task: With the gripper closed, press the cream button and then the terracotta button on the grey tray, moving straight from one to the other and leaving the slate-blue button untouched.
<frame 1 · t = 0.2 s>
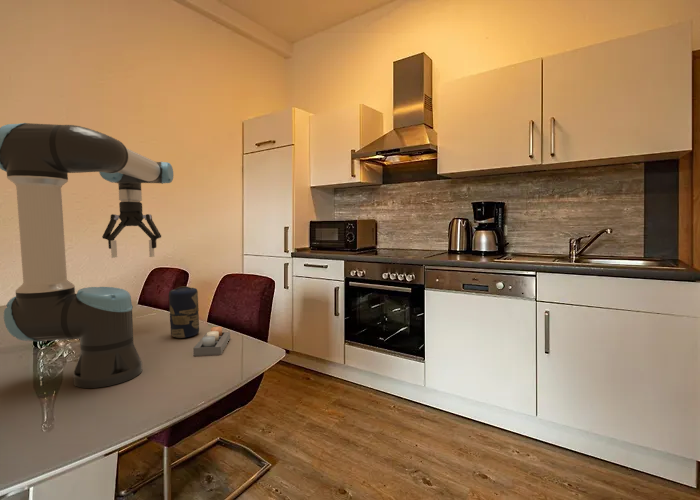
hand: (133, 257, 142), 28 cm above the table, fingers open, 13 cm apart
canister: (185, 336, 133), on the table
terracotta button: (216, 331, 125), point 4 cm above the table, slide at 0.0 cm
slate button: (208, 341, 114), point 4 cm above the table, slide at 0.0 cm
grey tray: (213, 347, 120), on the table
cream button: (212, 336, 120), point 4 cm above the table, slide at 0.0 cm
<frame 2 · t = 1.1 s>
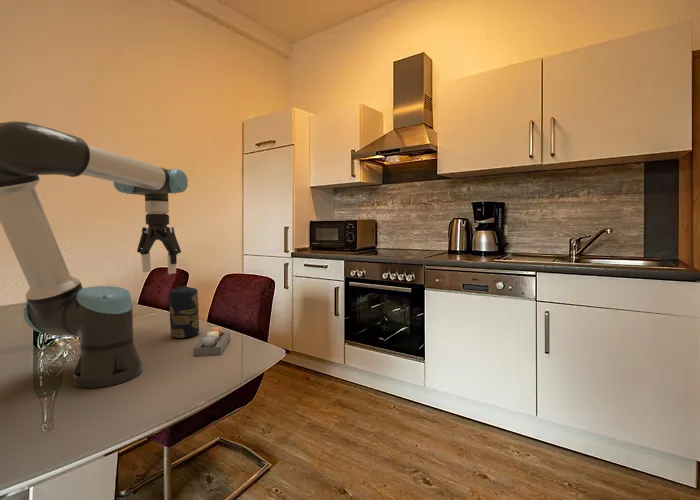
hand: (159, 272, 133), 23 cm above the table, fingers open, 13 cm apart
nothing on the table moved.
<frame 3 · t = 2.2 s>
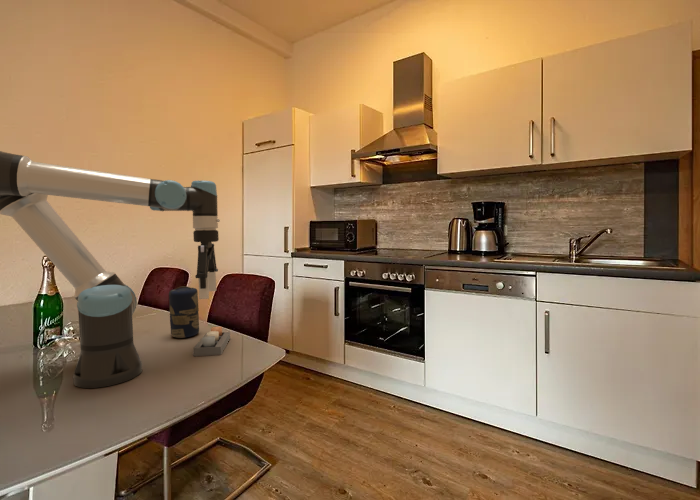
hand: (208, 294, 120), 17 cm above the table, fingers open, 13 cm apart
nothing on the table moved.
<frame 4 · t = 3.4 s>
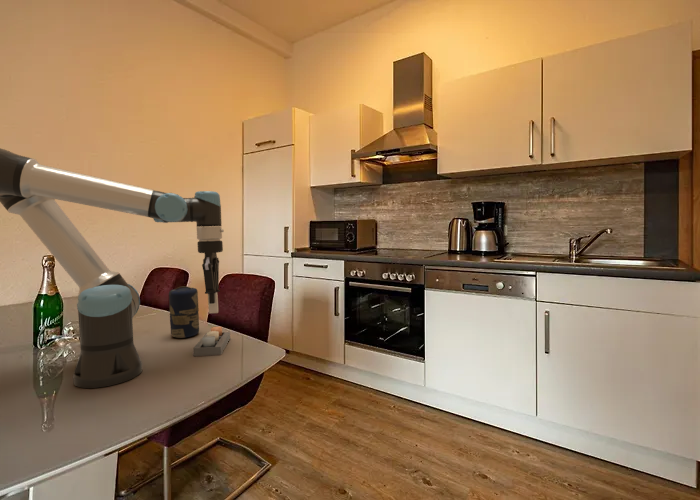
hand: (213, 312, 119), 11 cm above the table, fingers closed
nothing on the table moved.
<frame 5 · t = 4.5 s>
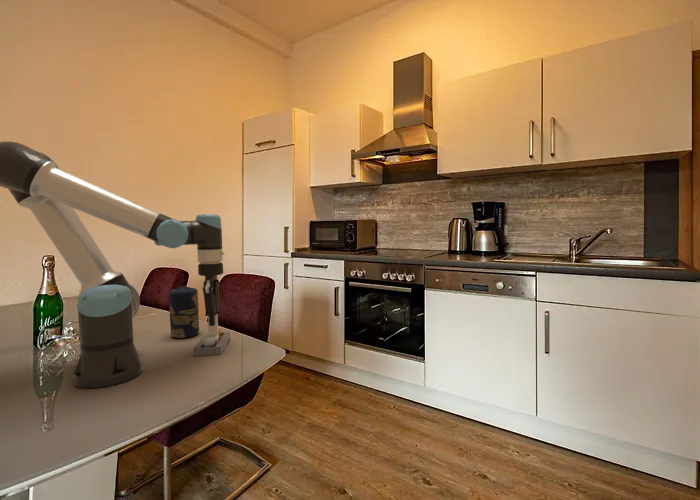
hand: (213, 334, 120), 4 cm above the table, fingers closed
cream button: (213, 339, 120), point 3 cm above the table, slide at 0.9 cm, touching gripper
everything else where it was.
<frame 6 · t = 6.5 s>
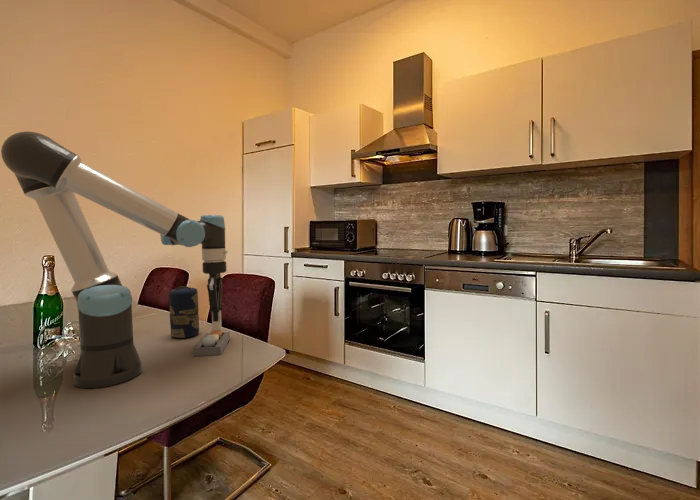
hand: (217, 329, 125), 4 cm above the table, fingers closed
terracotta button: (216, 334, 125), point 3 cm above the table, slide at 0.9 cm, touching gripper
cream button: (213, 339, 120), point 2 cm above the table, slide at 1.1 cm
everything else where it was.
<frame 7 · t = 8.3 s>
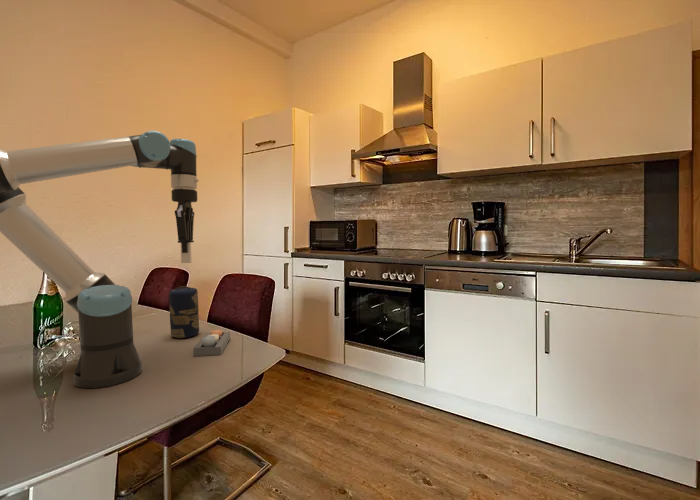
hand: (186, 262, 119), 28 cm above the table, fingers closed
terracotta button: (216, 334, 125), point 2 cm above the table, slide at 1.1 cm
everything else where it was.
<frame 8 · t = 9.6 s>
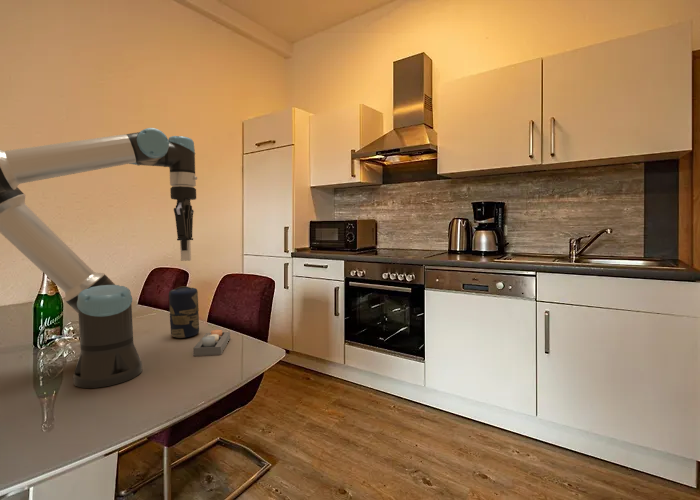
hand: (186, 260, 119), 28 cm above the table, fingers closed
nothing on the table moved.
at the end: cream button slide at 1.1 cm; terracotta button slide at 1.1 cm; slate button slide at 0.0 cm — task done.
